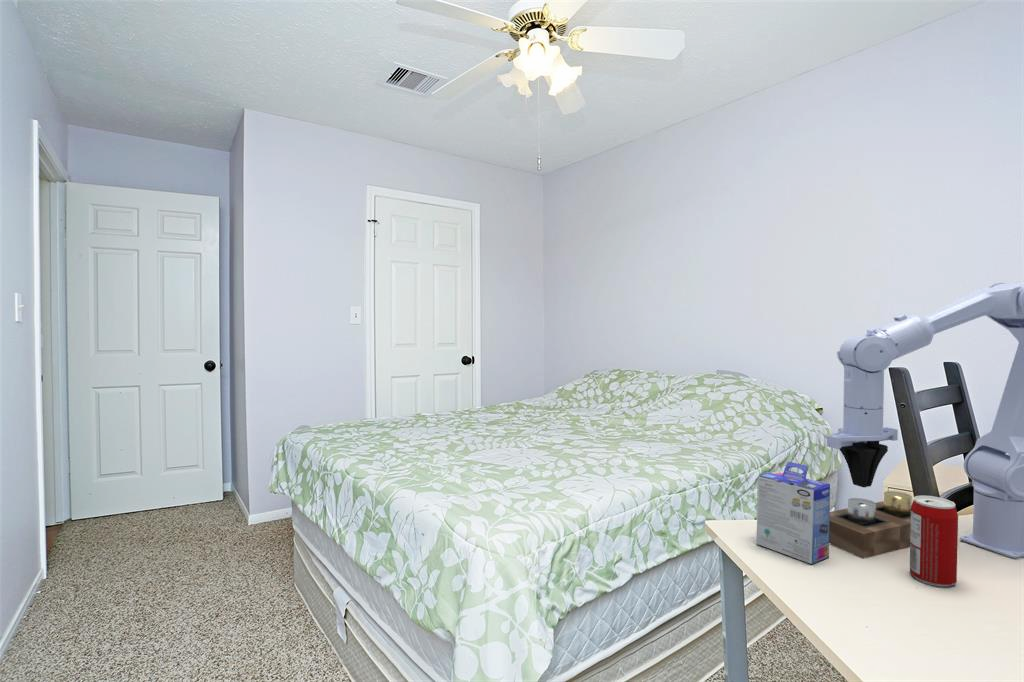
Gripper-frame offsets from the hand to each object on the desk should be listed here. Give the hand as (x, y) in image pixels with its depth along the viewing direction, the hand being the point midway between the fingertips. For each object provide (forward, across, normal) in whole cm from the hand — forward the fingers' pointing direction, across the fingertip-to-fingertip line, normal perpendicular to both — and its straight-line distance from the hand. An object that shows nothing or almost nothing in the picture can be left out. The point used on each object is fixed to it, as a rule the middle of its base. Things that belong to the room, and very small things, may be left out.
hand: (861, 485), depth 93 cm
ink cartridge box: (+10, +14, -2) cm, 17 cm away
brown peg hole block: (+10, -4, 0) cm, 11 cm away
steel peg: (+7, 0, 0) cm, 7 cm away
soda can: (+10, +2, +13) cm, 17 cm away
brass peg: (+7, -9, 0) cm, 11 cm away
